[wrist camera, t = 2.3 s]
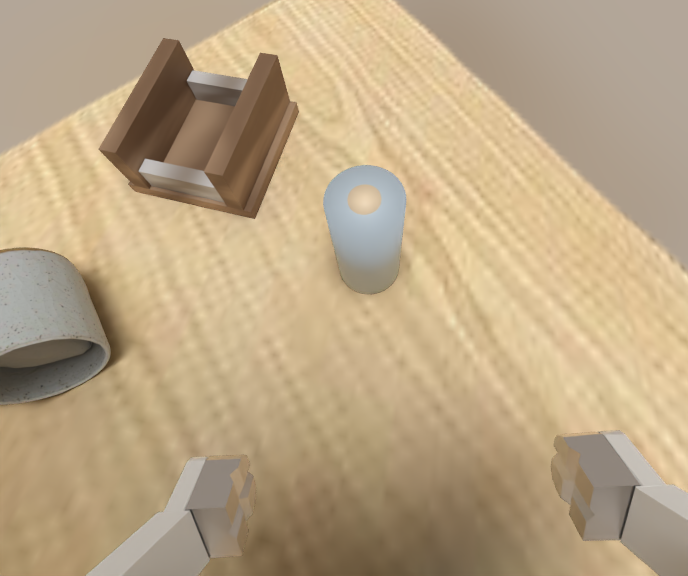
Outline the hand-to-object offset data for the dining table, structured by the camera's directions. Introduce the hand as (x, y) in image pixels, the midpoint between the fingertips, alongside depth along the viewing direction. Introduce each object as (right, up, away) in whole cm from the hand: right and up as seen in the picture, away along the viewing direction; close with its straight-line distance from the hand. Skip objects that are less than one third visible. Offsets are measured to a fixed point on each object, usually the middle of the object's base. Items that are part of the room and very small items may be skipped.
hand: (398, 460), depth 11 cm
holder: (-12, +16, +24) cm, 32 cm away
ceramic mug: (-23, 0, +19) cm, 30 cm away
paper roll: (0, +6, +19) cm, 20 cm away
